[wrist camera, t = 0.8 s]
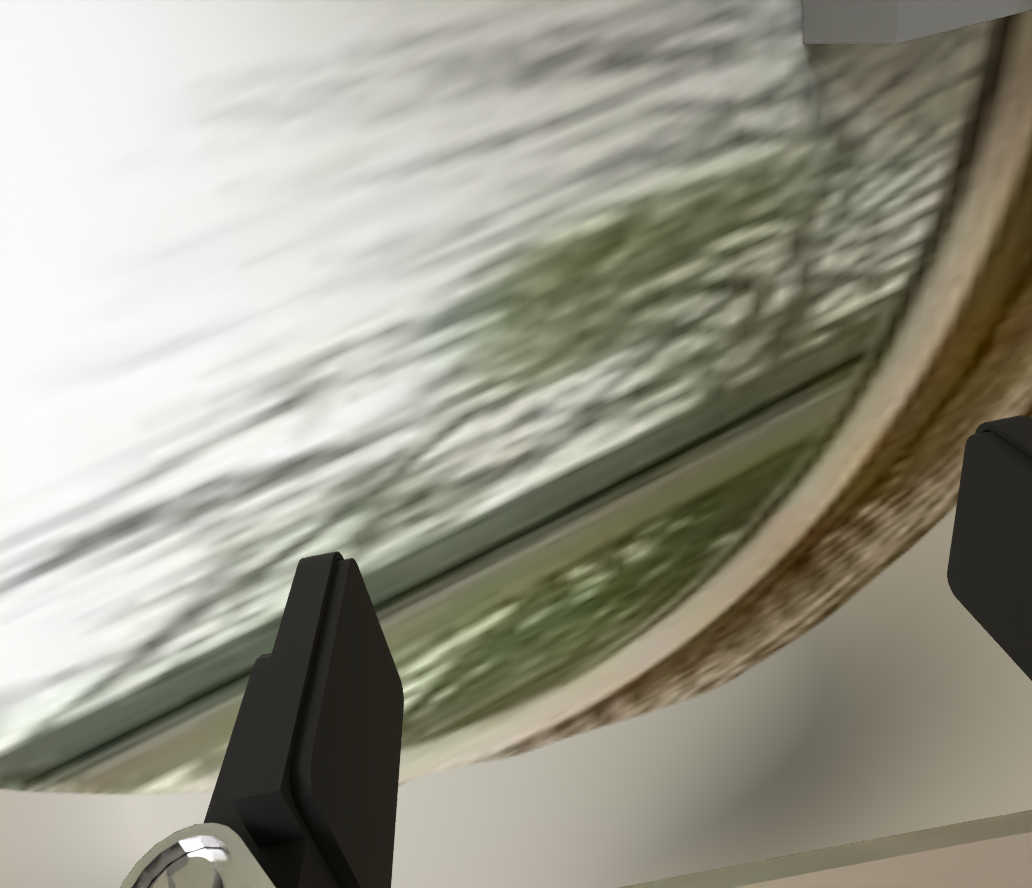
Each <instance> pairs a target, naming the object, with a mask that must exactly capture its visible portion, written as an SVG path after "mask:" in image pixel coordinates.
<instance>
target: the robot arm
mask: <svg viewBox="0 0 1032 888" xmlns="http://www.w3.org/2000/svg"><path fill="white" fill-rule="evenodd" d="M947 578H948V583H949V586H950V588H951V590H952V592H953V594H954V595H955V597H956V598H957V599H958V600H959V601H960V602H961V604H962V605H963V606H964V607H965V608H966V609H967V610H968V611H969V612H970V613H971V614H972V616H973V617H974V618H975V619H976V620H977V621H978V622H979V623H980V624H981V626H982V627H983V628H984V629H985V630H986V631H987V632H988V633H989V634H990V635H991V636H992V637H993V639H994V640H995V641H996V642H997V643H998V644H999V645H1000V646H1001V647H1002V648H1003V649H1004V651H1005V652H1006V653H1007V654H1008V655H1009V656H1010V657H1011V658H1012V660H1013V661H1014V662H1015V663H1016V664H1017V665H1018V666H1019V667H1020V668H1021V669H1022V671H1023V672H1024V673H1025V674H1026V675H1027V676H1028V677H1029V678H1030V679H1031V680H1032V418H1031V417H1028V416H1015V417H1010V418H1005V419H1000V420H995V421H990V422H985V423H983V424H981V425H979V427H978V428H977V429H976V432H975V435H972V436H970V437H969V438H968V439H967V442H966V445H965V452H964V459H963V466H962V473H961V480H960V487H959V494H958V501H957V508H956V515H955V522H954V529H953V536H952V543H951V550H950V557H949V563H948V571H947ZM403 708H404V696H403V688H402V683H401V680H400V677H399V674H398V672H397V669H396V666H395V664H394V661H393V658H392V656H391V653H390V650H389V648H388V645H387V642H386V640H385V637H384V634H383V632H382V629H381V626H380V624H379V621H378V618H377V616H376V613H375V610H374V608H373V605H372V602H371V600H370V597H369V594H368V592H367V589H366V586H365V583H364V581H363V578H362V575H361V573H360V570H359V567H358V565H357V563H356V561H355V560H354V559H353V558H350V559H345V560H344V559H343V556H342V555H341V554H340V552H331V553H326V554H321V555H316V556H311V557H306V558H302V559H301V560H300V561H299V563H298V566H297V569H296V573H295V576H294V579H293V583H292V586H291V590H290V593H289V597H288V600H287V603H286V607H285V610H284V614H283V617H282V620H281V624H280V627H279V631H278V634H277V638H276V641H275V644H274V648H273V651H272V653H269V654H264V655H261V656H260V657H259V658H258V659H257V660H256V662H255V664H254V666H253V669H252V672H251V675H250V678H249V681H248V684H247V688H246V691H245V694H244V697H243V700H242V703H241V707H240V710H239V713H238V716H237V719H236V722H235V726H234V729H233V732H232V735H231V738H230V741H229V745H228V748H227V751H226V754H225V757H224V760H223V764H222V767H221V770H220V773H219V776H218V779H217V783H216V786H215V789H214V792H213V795H212V798H211V802H210V805H209V808H208V811H207V814H206V817H205V820H204V823H203V824H195V825H192V826H189V827H187V828H184V829H182V830H179V831H177V832H174V833H173V834H171V835H170V836H168V837H167V838H165V839H164V840H162V841H160V842H159V843H157V844H156V845H155V846H154V847H153V848H152V849H150V850H149V851H148V852H147V853H146V854H145V855H144V856H143V857H142V858H141V859H140V860H139V861H138V862H137V863H136V864H135V866H134V867H133V868H132V870H131V871H130V872H129V874H128V875H127V877H126V878H125V879H124V881H123V882H122V884H121V886H120V888H391V878H392V864H393V850H394V836H395V834H394V833H395V822H396V807H397V793H398V779H399V765H400V751H401V737H402V722H403ZM620 888H1032V810H1028V811H1023V812H1017V813H1012V814H1006V815H1001V816H995V817H990V818H985V819H979V820H974V821H968V822H963V823H957V824H952V825H947V826H941V827H936V828H931V829H925V830H920V831H915V832H909V833H904V834H899V835H893V836H888V837H883V838H877V839H872V840H866V841H861V842H856V843H851V844H845V845H840V846H835V847H829V848H824V849H819V850H813V851H808V852H803V853H798V854H792V855H787V856H782V857H776V858H771V859H766V860H761V861H755V862H750V863H744V864H739V865H735V866H729V867H724V868H719V869H713V870H708V871H703V872H698V873H693V874H688V875H682V876H678V877H672V878H667V879H662V880H656V881H651V882H646V883H641V884H636V885H631V886H625V887H620Z"/></svg>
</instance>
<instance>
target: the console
mask: <svg viewBox="0 0 1032 888" xmlns="http://www.w3.org/2000/svg"><path fill="white" fill-rule="evenodd" d="M1029 10H1032V0H802V19H803V44H899V43H903V42H907V41H911V40H915V39H919V38H923V37H927V36H931V35H935V34H938V33H942V32H946V31H950V30H954V29H958V28H962V27H966V26H970V25H974V24H978V23H982V22H986V21H990V20H994V19H998V18H1002V17H1006V16H1010V15H1014V14H1017V13H1021V12H1025V11H1029Z"/></svg>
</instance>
